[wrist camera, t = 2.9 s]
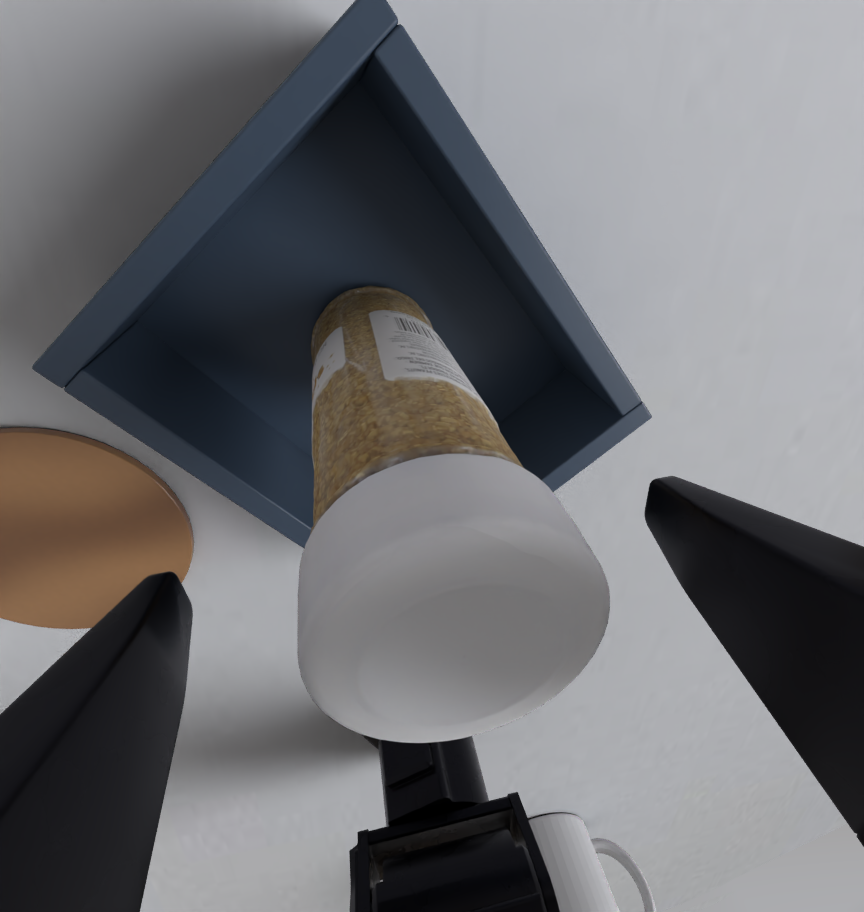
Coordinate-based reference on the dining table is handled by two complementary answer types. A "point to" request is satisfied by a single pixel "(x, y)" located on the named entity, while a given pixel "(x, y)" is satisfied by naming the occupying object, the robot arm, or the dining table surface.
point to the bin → (338, 284)
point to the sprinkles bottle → (429, 543)
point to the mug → (582, 865)
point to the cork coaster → (80, 528)
